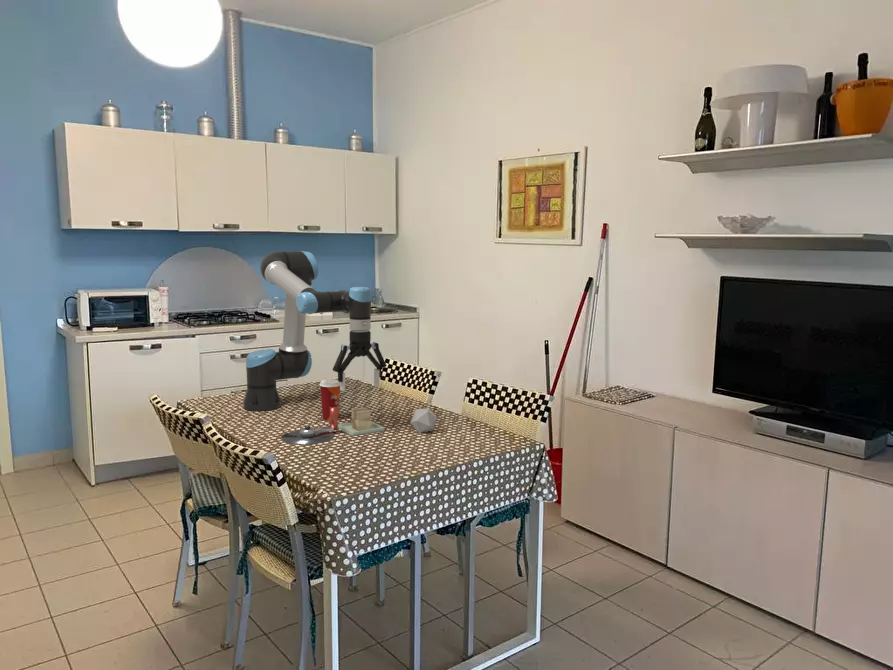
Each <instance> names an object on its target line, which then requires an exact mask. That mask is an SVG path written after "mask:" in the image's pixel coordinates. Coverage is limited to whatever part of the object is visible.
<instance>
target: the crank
mask: <svg viewBox="0 0 893 670" xmlns="http://www.w3.org/2000/svg"><path fill="white" fill-rule="evenodd" d="M338 424H339V419H338V407H330V421H329V426H325V427H318V428H316V427H315V428H314V427H311V429H305V427H302V428H300V429H299V430H300V435H301V437H313V436H315V434H316V433H322V432H328V431H329V432H333V431H338V429H339V428H338Z"/></svg>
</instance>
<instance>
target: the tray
mask: <svg viewBox="0 0 893 670" xmlns="http://www.w3.org/2000/svg"><path fill="white" fill-rule="evenodd" d="M338 429H339V430H341V431H342V432H344V433H346V434H348V436H349V435H350V436H351V437H357V436H363V435H368V434H375V433H376V434H377V433H380V432H381V433H382V432H385V427H384V426H382V425H380V424H378V423H377V422H374V421H372V420H370V429H369V430H363V431H357V430H355V429H353V428H352V422H345V423H338Z"/></svg>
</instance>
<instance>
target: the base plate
mask: <svg viewBox="0 0 893 670" xmlns="http://www.w3.org/2000/svg"><path fill="white" fill-rule="evenodd" d="M304 428H305V429H311V428H312V427H311V425H304ZM334 437H335V434H334V433H333V431H328V432H322V433H316V434H315V436H313V437H301V435H300V429H297V430H291V431H289V432H286V433H284V434H283V435H282V436H281V438H280V439H281V441H282V442H284V443H286V444H292V445H298V446H299V445H300V446H302V445H303V446H305V445H306V446H307V445H317V444H321V443H327V442H329V441H331V440H333V439H334Z"/></svg>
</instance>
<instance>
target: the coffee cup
mask: <svg viewBox="0 0 893 670" xmlns="http://www.w3.org/2000/svg"><path fill="white" fill-rule="evenodd" d="M319 387H320V398H321V399H320V401H321V412H322V415H321V416H322V420H324V421H329V422H330V407H338V420H339V418H340V415H339V414H340V401H341V400H340V397H341V394H340V393H341V390H340V382H339V381H338V379H333V378H332V379H322V380H321V381H320V383H319Z"/></svg>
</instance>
